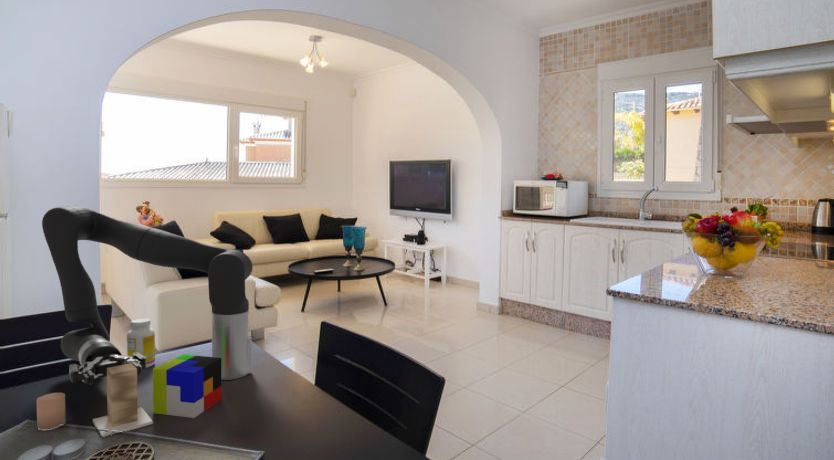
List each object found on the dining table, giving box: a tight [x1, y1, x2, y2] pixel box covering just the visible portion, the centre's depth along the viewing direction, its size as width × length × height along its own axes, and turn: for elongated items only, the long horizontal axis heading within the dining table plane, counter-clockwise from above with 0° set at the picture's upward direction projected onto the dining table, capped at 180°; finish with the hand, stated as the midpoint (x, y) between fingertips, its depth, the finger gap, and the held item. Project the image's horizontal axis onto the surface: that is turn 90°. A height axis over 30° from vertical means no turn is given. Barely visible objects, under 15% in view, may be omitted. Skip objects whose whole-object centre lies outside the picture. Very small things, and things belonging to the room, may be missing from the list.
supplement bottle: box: [126, 318, 156, 369], centre depth 132 cm, size 7×7×13 cm
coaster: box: [92, 406, 154, 436], centre depth 99 cm, size 9×9×1 cm
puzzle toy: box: [152, 354, 222, 419], centre depth 108 cm, size 10×10×10 cm
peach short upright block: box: [36, 392, 67, 429], centre depth 97 cm, size 5×5×6 cm
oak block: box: [106, 363, 138, 427], centre depth 99 cm, size 4×4×11 cm
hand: (116, 375), depth 103 cm, fingers open, 8 cm apart
